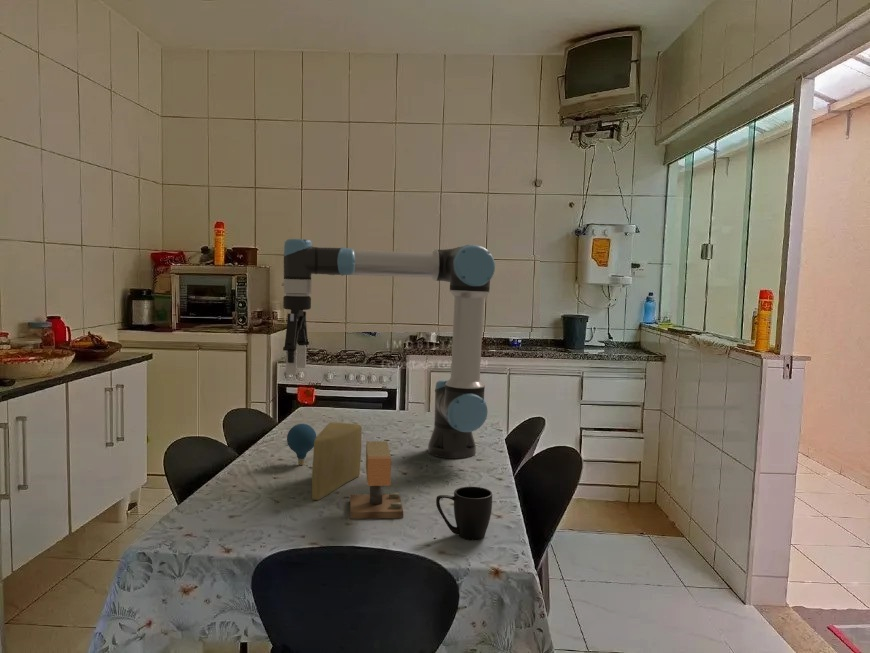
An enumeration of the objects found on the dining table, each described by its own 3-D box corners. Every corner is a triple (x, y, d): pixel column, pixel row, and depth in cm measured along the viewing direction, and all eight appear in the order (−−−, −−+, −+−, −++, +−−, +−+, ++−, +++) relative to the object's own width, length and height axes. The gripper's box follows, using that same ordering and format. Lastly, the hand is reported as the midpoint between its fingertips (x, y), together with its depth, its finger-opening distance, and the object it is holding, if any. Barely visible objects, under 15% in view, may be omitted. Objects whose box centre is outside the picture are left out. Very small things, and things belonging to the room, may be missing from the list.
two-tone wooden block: (365, 478, 158) (366, 441, 157) (386, 478, 158) (387, 441, 158) (367, 499, 143) (368, 458, 142) (390, 499, 143) (391, 458, 143)
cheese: (333, 503, 159) (335, 442, 158) (296, 499, 161) (297, 439, 160) (361, 476, 181) (362, 422, 179) (328, 473, 182) (329, 420, 181)
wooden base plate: (399, 500, 162) (399, 476, 162) (403, 517, 150) (403, 492, 150) (350, 500, 161) (350, 476, 160) (350, 518, 149) (350, 492, 148)
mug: (433, 528, 145) (434, 486, 144) (487, 528, 145) (489, 486, 145) (436, 543, 136) (437, 498, 136) (493, 543, 137) (495, 498, 137)
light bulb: (309, 470, 184) (310, 428, 184) (281, 467, 186) (282, 426, 185) (320, 462, 193) (321, 422, 192) (293, 459, 194) (294, 419, 193)
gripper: (292, 293, 195) (292, 364, 196) (273, 296, 170) (272, 377, 171) (318, 294, 195) (317, 365, 196) (302, 296, 170) (301, 378, 171)
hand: (296, 371), depth 184 cm, fingers open, 13 cm apart
